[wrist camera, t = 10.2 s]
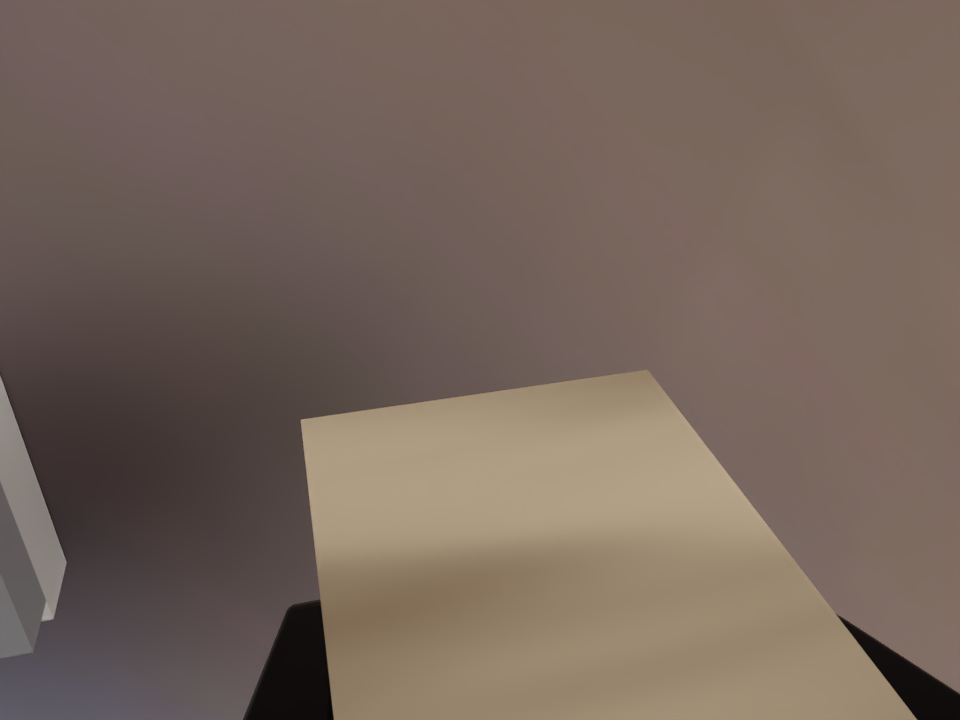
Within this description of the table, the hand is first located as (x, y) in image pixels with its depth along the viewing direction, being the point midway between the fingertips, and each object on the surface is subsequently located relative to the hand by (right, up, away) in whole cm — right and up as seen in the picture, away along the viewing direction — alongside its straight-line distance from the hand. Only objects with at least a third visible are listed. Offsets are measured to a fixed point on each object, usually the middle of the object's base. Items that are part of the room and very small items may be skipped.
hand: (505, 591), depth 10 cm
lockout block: (0, +1, +1) cm, 1 cm away
